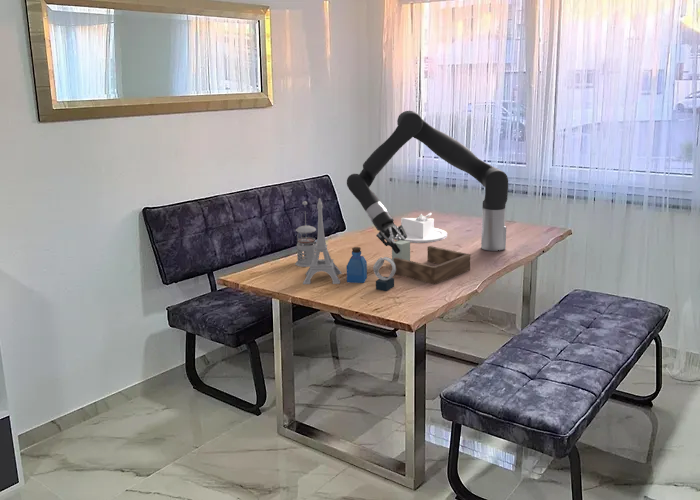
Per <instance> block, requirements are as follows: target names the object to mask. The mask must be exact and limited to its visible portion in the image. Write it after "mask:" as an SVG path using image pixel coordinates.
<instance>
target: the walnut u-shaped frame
mask: <svg viewBox="0 0 700 500" xmlns="http://www.w3.org/2000/svg"><path fill="white" fill-rule="evenodd" d="M427 262H429V263H432V264H433V263H434V264H436V265H434V266H433V265H429V264H426V263H421V262H418V261H412V260H410V261H409V260H405V259H401V258H394V263H395V266H396V272H395V274H394V275H397V276H402V277H404V278H409V279H413V280H417V281H419V282H423V283H428V284H432V285H436V284H439V283H441V282H444V281H446V280H448V279H449V280H450V279H451V278H454V277H455V276H459V275H460V274H462V273H463V274H464V273H466V272H468V271H470V270H471V254H470V253H465V252H460V251H456V250H451V249H446V248H443V247H442V248H441V247H436V246H432V245H428V246H427ZM467 270H468V271H467ZM465 271H466V272H465ZM458 274H459V275H458Z"/></svg>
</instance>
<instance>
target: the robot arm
mask: <svg viewBox="0 0 700 500" xmlns="http://www.w3.org/2000/svg"><path fill="white" fill-rule="evenodd" d="M421 116H422V115H420V114H418V113H417V112H415V111H413V110H406V111H402V112H401V113H400V114H398V117H397V120H396V121H397V122H396V123H397V126H396V127H395V129H394V131H393V132H392V133H391V135H390V136H389V137H388V138H386V140H385V141H384V142H382V143H381V145H379V146H378V147H377V148H375V149H374V151H373V152H372V153H371V154H370V156H368V157H367V159H366V160H365V162H363V163H362V170H361V171H360V173H352V174H350V175H348V177H347V178H346V186H347V188H348V189H349V191H350V192H351V194H352V195H353V196H354V197H355V199H357V201H358V202H359V203H360V205H361V207H362V208H363V209H364V211H365V213H366V214H367V217H368V218H369V219H370V221H371V223H372V224H373V225H374V227H375V228H376V230H377V231H379V232H378V233H377V234H376V237H377V238H378V240H379V241H381V242H382V244H384V246H385V247H390V248H391V250H392V249H393V250H394V252H395V253H396V254H398V253H399V252H400V249H399V248H398V246H397V245H396V243H395V240H396V241H398V240H404V241H405V239H406V238H407V235H406V233H405V230H404V228H403V226H402V225H401V224H400V225H399V226H397V225H396V224H395V223H394V217H392V215H391V213H390V212H389V211H388V209H387V208H386V206H385V205H384V204H383V203H382V201H381V200H380V199H379V198H378V196H377V195H376V193H375V192H373V191H372V189H370V187H371V185H372V184H373V182H374V181H375V178H376V177H377V175H378V174H379V173H380V172H381V171H382V170H383V169H384V167H385V166H386V165H387V164H388V163H389V162H390V160H391V159H392V158H393V157H394V156H395V155H396V153H397V152H398V151H400V149H402V147H403V146H404V145H405V144H406V143H408V142H409V141H410V140H411V139H412V138H414V139H416V140H417V141H419V142H421V143H422V144H424V145H425V146H426V147H427V148H428V149H429V150H430V151H432V152H433V153H434V154H435V155H436V156H438V157H439V158H441V160H443V161H445V162H447V164H449V165H450V166H452V167H454V168H456V169H458V170H460V171H463V172H465V173H467V174H469V175H470V176H472V177H473V178H474V179H475V180H476V181H478V182H479V183H480V184H481V185H482V186H483V187H484V188H485V190H484V191H485V192H484V198H483V199H484V200H482V207H481V208H482V209H481V211H482V213H481V214H482V215H481V243H480V247H481V249H482V250H484V251H490V252H491V251H492V252H496V251H497V252H498V250H499V251H503V250H506V247H507V226H506V223H505V222H506V204H507V201H508V197H509V196H508V194H509V193H508V192H509V177H508V175H507V173H506V172H505V171H503V170H501V169H499V168H497V167H495V166H493V165H490V164H489V163H487V162H485V161H483V160H481V159H480V158H479V157H477V155H475V153H474V152H472V151H471V149H469V148H468V147H467V146H465V145H464V144H463V143H461V142H460V141H459V140H457V139H455V138H454V137H452V136H451V135H448V134H446V133H445V132H443V131H441V130H439V129H437V128H434V127H433V126H431V125H430V124H429V123H428V122H427V121H425V120H424V119H423V118H422V117H421ZM397 234H398V236H396V235H397ZM403 235H404V237H403ZM399 237H400V238H401V239H400V238H399Z"/></svg>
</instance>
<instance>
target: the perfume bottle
mask: <svg viewBox="0 0 700 500" xmlns="http://www.w3.org/2000/svg"><path fill="white" fill-rule="evenodd" d="M351 249H352V251H351V257H350V258H349V260H348V263H347V265H346V282H347V283H351V284H353V283H356V284H364V283H366V280H367V278H368V265H367V263H368V262H367V260H366V258H365V256H364V255H362V250H361V249H362V248H361V247H359V246H354V247H352V248H351Z"/></svg>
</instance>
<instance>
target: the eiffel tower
mask: <svg viewBox="0 0 700 500" xmlns="http://www.w3.org/2000/svg"><path fill="white" fill-rule="evenodd" d="M316 205H317V206H316V209H317V241H316V244H317V245H316V254H315V258H314V260H312V262H311V266H310V267H308V270H307V271H306V272H305V279H304V280H303V282H302V285H310V284H311V283H312V281H311V280H312V278H313V276H314V275H315V274H317V273H319V272H324V273H326V274H328V275H329V276H330V278H331V280H332V283H331V284H332V285H340V284H341V280H340V279H339V277H338V275H339V274H341V275H342V271H341V270H340V268H339V267H338V266H337V265H336V264H335V262H334V259H333V258H332V257H331V255H330V252H329V250H328V244H327V242H326V238H325V237H326V236H325V230H324V221H323V220H324V219H323V207H324V206H323V201H322V200H321V198H318V202H317V204H316ZM320 253H322V254H323V259H319V258H320Z"/></svg>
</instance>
